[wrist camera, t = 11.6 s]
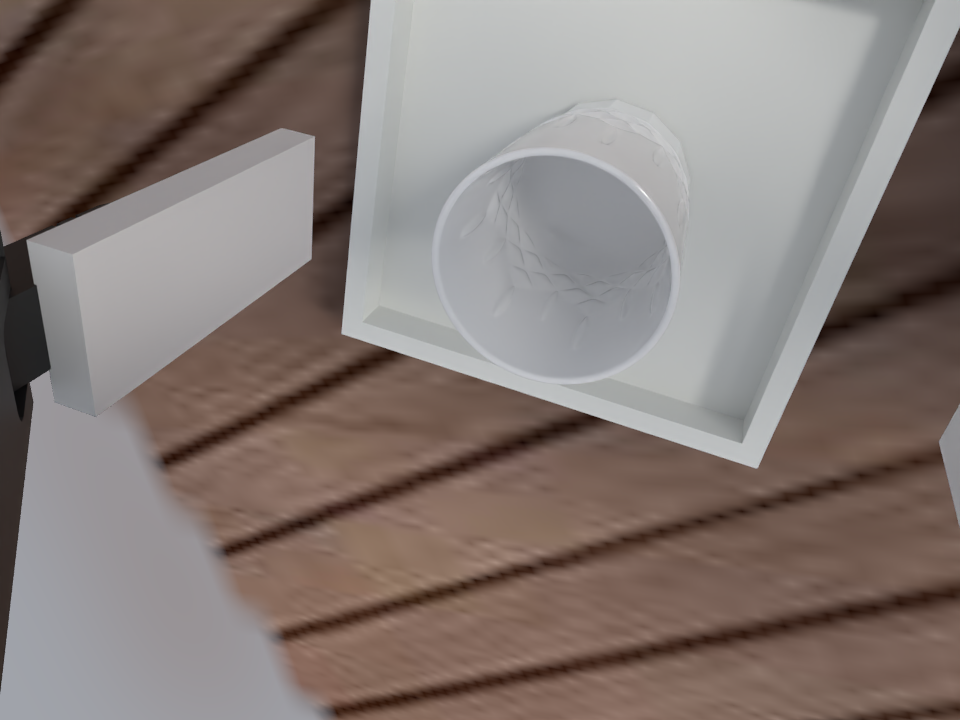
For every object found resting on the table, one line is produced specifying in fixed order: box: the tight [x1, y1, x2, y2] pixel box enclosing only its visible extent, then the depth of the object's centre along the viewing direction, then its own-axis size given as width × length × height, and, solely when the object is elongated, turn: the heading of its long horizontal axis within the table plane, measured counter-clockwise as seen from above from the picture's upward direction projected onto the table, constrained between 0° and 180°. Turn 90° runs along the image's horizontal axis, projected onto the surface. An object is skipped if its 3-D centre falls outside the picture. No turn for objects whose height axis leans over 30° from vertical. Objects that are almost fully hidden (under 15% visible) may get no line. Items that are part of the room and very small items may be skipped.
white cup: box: [431, 99, 691, 385], centre depth 29 cm, size 8×8×10 cm
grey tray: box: [341, 0, 960, 469], centre depth 33 cm, size 20×20×2 cm
